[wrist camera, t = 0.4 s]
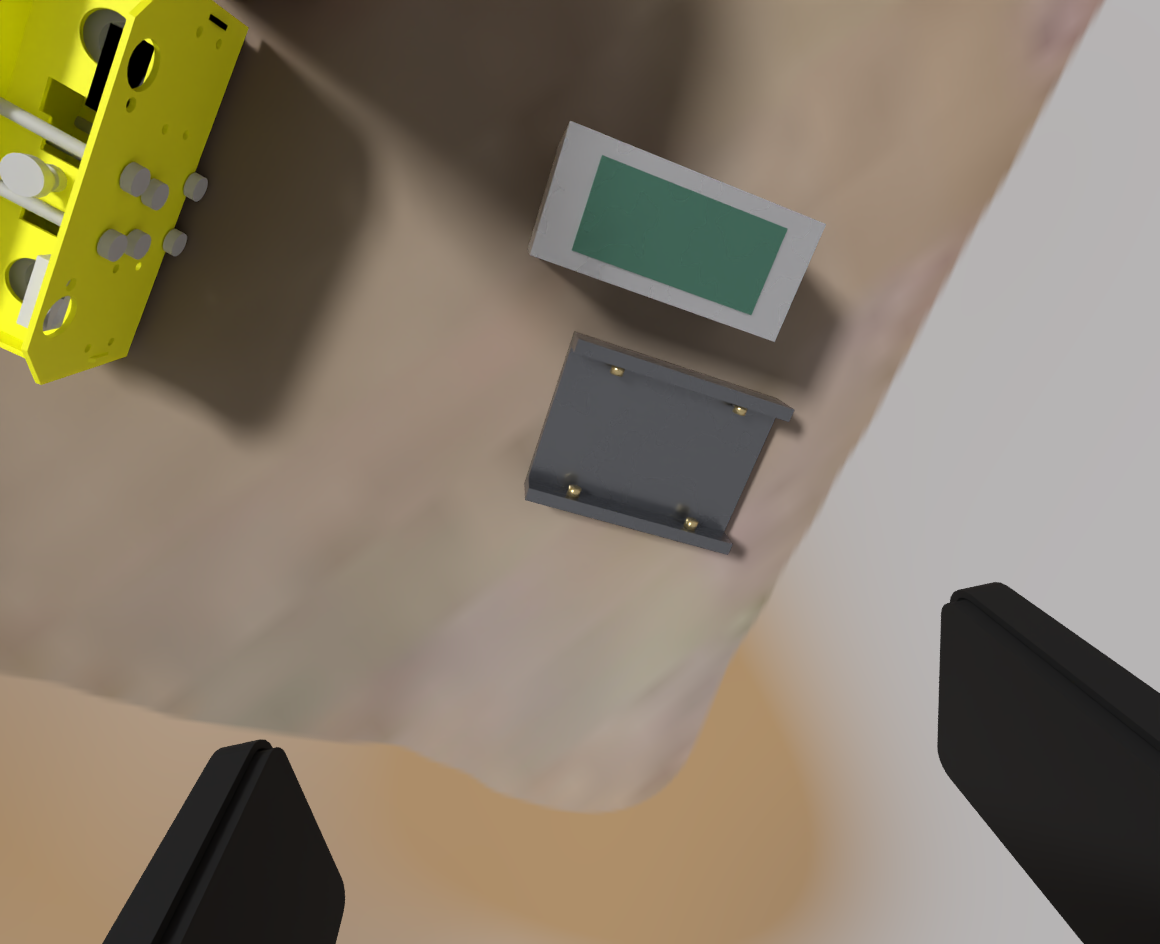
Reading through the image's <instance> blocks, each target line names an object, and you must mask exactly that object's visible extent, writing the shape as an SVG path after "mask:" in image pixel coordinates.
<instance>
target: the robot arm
mask: <svg viewBox="0 0 1160 944" xmlns="http://www.w3.org/2000/svg"><path fill="white" fill-rule="evenodd" d="M940 642H941V643H940V676H939V711H938V713H939V715H938V754H939V758H940V761H941V764H942V766H943V768H944V770H945V772H946V773H947V775H948V776H949V777H950V779H951V780H952V781H953V783H954V784H955V785H956V786H957V788H958V789H959V790H960V791H961V792H962V794H963V795H964V796H965V797H966V799H967V800H968V801H969V802H970V804H971V805H972V806H973V807H974V809H975V810H976V811H977V812H978V814H979V815H980V816H981V817H982V818H983V820H984V821H985V822H986V823H987V825H988V826H989V827H990V828H991V830H992V831H993V832H994V833H995V834H996V836H997V837H998V838H999V840H1000V841H1001V842H1002V843H1003V844H1004V846H1005V847H1006V848H1007V849H1008V851H1009V852H1010V853H1011V854H1012V856H1013V857H1014V858H1015V859H1016V861H1017V862H1018V863H1019V864H1020V866H1021V867H1022V868H1023V869H1024V870H1025V872H1026V873H1027V874H1028V875H1029V877H1030V878H1031V879H1032V880H1033V882H1034V883H1035V884H1036V885H1037V887H1038V888H1039V889H1040V890H1041V891H1042V893H1043V894H1044V895H1045V896H1046V898H1047V899H1048V900H1049V901H1050V903H1051V904H1052V905H1053V906H1054V908H1055V909H1056V910H1057V911H1058V912H1059V914H1060V915H1061V916H1062V917H1063V919H1064V920H1065V921H1066V922H1067V924H1068V925H1069V926H1070V927H1071V929H1072V930H1073V931H1074V932H1075V934H1076V935H1077V936H1078V937H1079V938H1080V940H1081V941H1082V942H1083V943H1084V944H1160V693H1158V692H1157V691H1156V690H1154V689H1153V688H1151V687H1150V686H1149V685H1147V684H1146V683H1144V682H1143V681H1142V680H1140V679H1139V678H1137V677H1136V676H1134V675H1133V674H1132V673H1130V672H1129V671H1127V670H1126V669H1125V668H1123V667H1122V666H1120V665H1119V664H1117V663H1116V662H1115V661H1113V660H1112V659H1110V658H1109V657H1107V656H1106V655H1105V654H1103V653H1101V652H1100V651H1099V650H1098V649H1096V648H1095V647H1093V646H1092V645H1090V644H1089V643H1087V642H1086V641H1085V640H1083V639H1082V638H1080V637H1079V636H1078V635H1076V634H1075V633H1073V632H1072V631H1070V630H1069V629H1068V628H1066V627H1065V626H1063V625H1062V624H1060V623H1059V622H1058V621H1056V620H1055V619H1054V618H1052V617H1051V616H1049V615H1048V614H1046V613H1045V612H1043V611H1042V610H1041V609H1039V608H1038V607H1036V606H1035V605H1034V604H1032V603H1031V602H1029V601H1028V600H1026V599H1025V598H1024V597H1022V596H1021V595H1019V594H1018V593H1017V592H1015V591H1014V590H1012V589H1011V588H1009V587H1008V586H1006V585H1004V584H1002V583H997V582H993V583H989V584H984V585H980V586H975V587H970V588H965V589H961V590H957V591H955V592H954V593H953V594H952V596H951V599H950V603H947V604H945V605H944V606H943V608H942V612H941V639H940ZM344 905H345V890H344V884H343V881H342V878H341V876H340V873H339V871H338V869H337V867H336V865H335V862H334V861H333V858H332V856H331V854H330V851H329V849H328V847H327V845H326V842H325V840H324V838H323V836H322V834H321V831H320V829H319V827H318V825H317V823H316V820H315V818H314V816H313V813H312V811H311V809H310V807H309V805H308V802H307V800H306V798H305V796H304V793H303V791H302V789H301V787H300V785H299V783H298V780H297V778H296V776H295V773H294V771H293V769H292V767H291V765H290V763H289V760H288V758H287V756H286V754H285V752H284V750H283V749H281V748H279V747H276V748H272V746H271V744H270V743H269V742H267V741H266V740H256V741H251V742H246V743H242V744H237V745H232V746H228V747H223V748H220V749H219V750H217V751H216V752H215V753H214V754H213V755H212V757H211V758H210V760H209V762H208V763H207V765H206V767H205V768H204V770H203V772H202V773H201V775H200V777H199V779H198V780H197V782H196V784H195V785H194V787H193V789H192V791H191V792H190V794H189V796H188V797H187V799H186V801H185V803H184V804H183V806H182V808H181V810H180V811H179V813H178V815H177V816H176V818H175V820H174V821H173V823H172V825H171V827H170V828H169V830H168V832H167V834H166V835H165V837H164V839H163V840H162V842H161V844H160V845H159V847H158V849H157V851H156V852H155V854H154V856H153V858H152V859H151V861H150V863H149V864H148V866H147V868H146V870H145V871H144V873H143V875H142V876H141V878H140V880H139V882H138V883H137V885H136V887H135V889H134V890H133V892H132V894H131V895H130V897H129V899H128V900H127V902H126V904H125V906H124V907H123V909H122V911H121V912H120V914H119V916H118V918H117V919H116V921H115V923H114V924H113V926H112V928H111V930H110V931H109V933H108V935H107V936H106V938H105V940H104V942H103V943H102V944H336V940H337V936H338V932H339V928H340V924H341V920H342V916H343V911H344Z"/></svg>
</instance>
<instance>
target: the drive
mask: <svg viewBox="0 0 1160 944" xmlns="http://www.w3.org/2000/svg"><path fill="white" fill-rule="evenodd" d="M825 225H826V224H825V223H822V222H820V221H817V220H815V219H812V218H810V217H807V216H805V215H802V214H800V213H797V212H795V211H792V210H790V209H787V208H785V207H783V206H780V205H778V204H775V203H773V202H770V201H768V200H765V199H763V198H760V197H758V196H755V195H753V194H750V193H748V192H745V191H743V190H740V189H738V188H736V187H733V186H731V185H728V184H726V183H723V182H721V181H718V180H716V179H713V178H711V177H708V176H706V175H703V174H701V173H698V172H696V171H694V170H691V169H689V168H686V167H684V166H681V165H679V164H676V163H674V162H671V161H669V160H666V159H664V158H661V157H659V156H656V155H654V154H651V153H649V152H647V151H644V150H642V149H639V148H637V147H634V146H632V145H629V144H627V143H624V142H622V141H619V140H617V139H614V138H612V137H609V136H607V135H605V134H602V133H600V132H597V131H595V130H592V129H590V128H587V127H585V126H582V125H580V124H577V123H575V122H572V121H570V122H569V124H568V126H567V128H566V130H565V132H564V134H563V136H562V138H561V140H560V142H559V144H558V148H557V151H556V155H555V158H554V161H553V165H552V168H551V171H550V175H549V178H548V181H547V185H546V188H545V191H544V195H543V198H542V202H541V205H540V208H539V212H538V215H537V218H536V222H535V225H534V228H533V232H532V235H531V238H530V242H529V245H528V249H527V250H528V252H529V254H530V255H531V256H534V257H537V258H540V259H543V260H545V261H548V262H551V263H554V264H557V265H559V266H562V267H565V268H568V269H571V270H574V271H576V272H579V273H582V274H585V275H588V276H590V277H593V278H596V279H599V280H602V281H604V282H607V283H610V284H613V285H616V286H619V287H621V288H624V289H627V290H630V291H633V292H635V293H638V294H641V295H644V296H647V297H649V298H652V299H655V300H658V301H661V302H664V303H666V304H669V305H672V306H675V307H678V308H680V309H683V310H686V311H689V312H692V313H694V314H697V315H700V316H703V317H706V318H709V319H711V320H714V321H717V322H720V323H723V324H725V325H728V326H731V327H734V328H737V329H739V330H742V331H745V332H748V333H751V334H754V335H756V336H759V337H762V338H765V339H768V340H770V341H773V342H775V340H776V337H777V335H778V333H779V331H780V328H781V326H782V324H783V321H784V319H785V317H786V315H787V312H788V310H789V308H790V305H791V303H792V301H793V299H794V296H795V294H796V292H797V289H798V287H799V285H800V283H801V280H802V278H803V276H804V273H805V271H806V269H807V267H808V264H809V262H810V260H811V257H812V255H813V253H814V251H815V248H816V246H817V244H818V241H819V239H820V237H821V235H822V232H823V230H824V228H825Z"/></svg>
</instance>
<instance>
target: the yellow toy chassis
mask: <svg viewBox="0 0 1160 944" xmlns="http://www.w3.org/2000/svg"><path fill="white" fill-rule="evenodd" d="M247 31H248V27H247V26H246V25H244V24H243V23H242V22H240V21H239V20H238V19H236V18H235V17H234V16H232V15H231V14H230V13H228V12H227V11H226V10H224V9H223V8H222V7H220V6H219V5H218V4H216V3H215V2H214V1H212V0H0V347H1V348H4V349H6V350H8V351H10V352H12V353H15V354H17V355H19V356H21V357H23V358H25V359H26V362H27V364H28V366H29V369H30V371H31V373H32V376H33V378H34V380H35V382H36V383H38V384H40V385H42V384H45V383H48V382H51V381H54V380H57V379H60V378H63V377H66V376H69V375H72V374H75V373H78V372H81V371H84V370H87V369H90V368H93V367H96V366H99V365H102V364H105V363H108V362H111V361H114V360H117V359H120V358H123V357H126V356H127V354H128V351H129V348H130V346H131V343H132V340H133V338H134V335H135V332H136V330H137V327H138V324H139V322H140V319H141V316H142V313H143V311H144V308H145V305H146V303H147V300H148V297H149V295H150V292H151V289H152V287H153V284H154V281H155V279H156V276H157V273H158V270H159V268H160V265H161V262H162V260H163V257H164V254H165V252H167V253H169V254H171V255H173V256H178V255H179V254H180V253H181V252H182V250H183V249H184V247H185V245H186V242H187V235H186V234H185V233H183V232H181V231H179V230H177V229H174V227H175V225H176V222H177V219H178V217H179V214H180V211H181V209H182V206H183V203H184V201H185V198H186V197H188V198H190V199H192V200H193V201H195V202H197V201H199V200H200V199H201V198H202V197H203V196H204V194H205V192H206V189H207V185H208V181H207V178H205V177H203V176H201V175H199V174H198V173H196V172H195V171H196V168H197V166H198V163H199V160H200V158H201V155H202V152H203V149H204V147H205V144H206V141H207V139H208V136H209V133H210V131H211V128H212V125H213V123H214V120H215V117H216V115H217V112H218V109H219V106H220V104H221V101H222V98H223V96H224V93H225V90H226V88H227V85H228V82H229V80H230V77H231V74H232V71H233V69H234V66H235V63H236V61H237V58H238V55H239V53H240V50H241V47H242V45H243V42H244V39H245V37H246V34H247Z"/></svg>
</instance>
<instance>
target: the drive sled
mask: <svg viewBox="0 0 1160 944" xmlns="http://www.w3.org/2000/svg"><path fill="white" fill-rule="evenodd" d="M793 412H794V409H793V408H791V407H790V406H788V405H787V404H785V403H783V402H782V401H780V400H779V399H777V398H775V397H772V396H769V395H766V394H762V393H759V392H756V391H753V390H750V389H747V388H744V387H741V386H738V385H735V384H732V383H729V382H726V381H723V380H720V379H717V378H714V377H711V376H708V375H705V374H702V373H699V372H696V371H693V370H690V369H687V368H684V367H681V366H678V365H675V364H672V363H669V362H666V361H663V360H660V359H657V358H654V357H651V356H647V355H644V354H641V353H638V352H635V351H632V350H629V349H626V348H623V347H620V346H617V345H614V344H611V343H608V342H605V341H602V340H599V339H596V338H593V337H590V336H587V335H584V334H581V333H578V332H575V331H574V334H573V337H572V340H571V343H570V346H569V349H568V352H567V355H566V358H565V361H564V364H563V368H562V371H561V374H560V377H559V380H558V383H557V386H556V389H555V392H554V395H553V398H552V401H551V404H550V407H549V410H548V413H547V416H546V419H545V422H544V425H543V428H542V431H541V434H540V437H539V440H538V443H537V446H536V450H535V453H534V456H533V459H532V462H531V465H530V468H529V471H528V474H527V477H526V480H525V483H524V484H525V500H527V501H531V502H535V503H538V504H542V505H546V506H549V507H553V508H557V509H561V510H564V511H568V512H572V513H575V514H579V515H583V516H586V517H590V518H594V519H597V520H601V521H605V522H609V523H612V524H616V525H620V526H623V527H627V528H631V529H634V530H638V531H642V532H645V533H649V534H653V535H657V536H660V537H664V538H668V539H671V540H675V541H679V542H682V543H686V544H690V545H693V546H697V547H701V548H705V549H708V550H712V551H716V552H719V553H723V554H727V555H728V554H729V551H730V549H731V547H732V545H733V544H732V542H731V541H730V539H729V538H728V536H727V535H726V534H725V532H724V531H725V529H726V527H727V524H728V522H729V520H730V518H731V515H732V513H733V511H734V509H735V507H736V504H737V502H738V500H739V498H740V496H741V493H742V491H743V489H744V487H745V484H746V482H747V480H748V478H749V476H750V473H751V471H752V469H753V467H754V464H755V462H756V460H757V458H758V456H759V453H760V451H761V449H762V447H763V445H764V442H765V440H766V438H767V436H768V433H769V431H770V429H771V427H772V425H773V422H774V420H775V418H778V419H781V420H784V421H787V422H789V421H790V419H791V416H792V414H793Z"/></svg>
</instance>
